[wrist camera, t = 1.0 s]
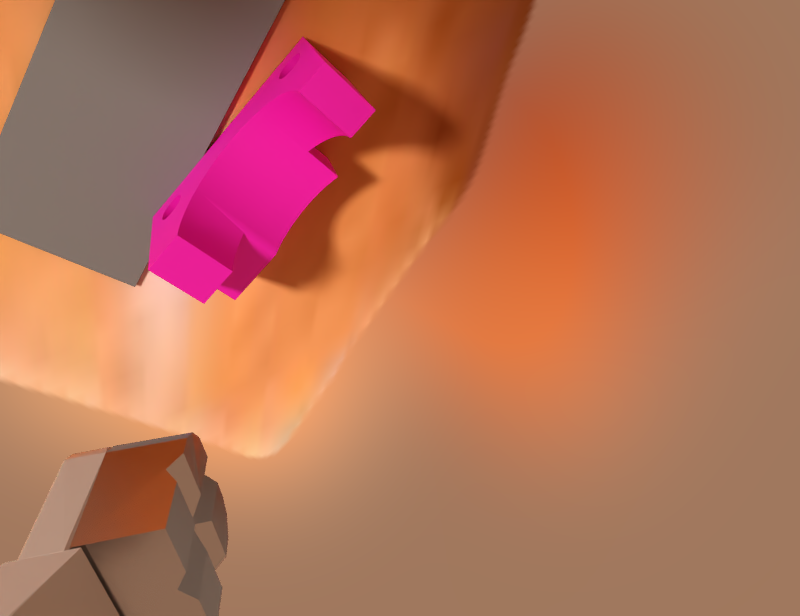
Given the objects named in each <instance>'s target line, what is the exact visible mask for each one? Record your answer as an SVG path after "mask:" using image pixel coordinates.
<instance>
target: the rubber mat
mask: <svg viewBox="0 0 800 616" xmlns="http://www.w3.org/2000/svg"><path fill="white" fill-rule="evenodd" d="M284 1H285V0H55V2H54V5H53V7H52V10H51V12H50V14H49V17H48V19H47V22H46V24H45V27H44V29H43V32H42V34H41V37H40V39H39V41H38V44H37V46H36V49H35V51H34V54H33V56H32V59H31V61H30V64H29V66H28V68H27V71H26V73H25V76H24V78H23V81H22V83H21V86H20V88H19V90H18V93H17V95H16V98H15V100H14V103H13V105H12V108H11V110H10V113H9V115H8V117H7V120H6V122H5V125H4V127H3V130H2V132H1V135H0V233H1V234H3V235H6V236H8V237H11V238H13V239H16V240H19V241H21V242H24V243H26V244H29V245H31V246H34V247H36V248H39V249H41V250H44V251H46V252H49V253H51V254H54V255H56V256H59V257H61V258H64V259H66V260H69V261H71V262H74V263H76V264H79V265H81V266H84V267H86V268H89V269H91V270H94V271H96V272H99V273H101V274H104V275H106V276H109V277H112V278H114V279H117V280H119V281H122V282H124V283H127V284H129V285H132V286H134V287H135V286H136V284H137V282H138V280H139V278H140V276H141V275H142V273H143V271H144V269H145V267H146V265H147V263H148V261H149V253H150V242H151V231H152V220H153V216H154V215H155V214H156V213H157V211H158V210H159V209H160V208H161V207H162V205H163V204H164V203H165V202H166V201H167V199H168V198H169V197H170V196H171V195H172V193H173V192H174V191H175V190H176V189H177V187H178V186H179V185H180V184H181V183H182V181H183V180H184V179H185V178H186V177H187V175H188V174H189V173H190V172H191V170H192V169H193V168H194V167H195V166H196V164H197V163H198V162H199V161H200V160H201V158H202V157H203V156H204V154H205V152H206V150H207V148H208V146H209V144H210V142H211V141H212V139H213V137H214V135H215V133H216V131H217V129H218V127H219V125H220V123H221V121H222V120H223V118H224V116H225V114H226V112H227V110H228V108H229V106H230V104H231V102H232V100H233V98H234V97H235V95H236V93H237V91H238V89H239V87H240V85H241V83H242V81H243V79H244V77H245V75H246V74H247V72H248V70H249V68H250V66H251V64H252V62H253V60H254V58H255V56H256V54H257V53H258V51H259V49H260V47H261V45H262V43H263V41H264V39H265V37H266V35H267V33H268V31H269V30H270V28H271V26H272V24H273V22H274V20H275V18H276V16H277V14H278V12H279V10H280V9H281V7H282V5H283V3H284Z"/></svg>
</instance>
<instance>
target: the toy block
mask: <svg viewBox="0 0 800 616" xmlns="http://www.w3.org/2000/svg"><path fill="white" fill-rule="evenodd" d="M374 112H375V109H374V108H373V107H372V105H371V104H370V103H369V102H368V101H367V100H366V99H365V98H364V97H363V96H362V94H361V93H360V92H359V91H358V90H357V89H356V88H355V87H354V86H353V85H352V84H351V82H350V81H349V80H348V79H347V78H346V77H345V76H344V75H343V74H342V73H341V72H339V71H338V70H337V69H336V68H335V67H334V66H333V65H332V64H331V63H330V62H329V61H328V60H327V59H326V58H325V57H324V56H323V55H322V54H321V53H320V52H319V51H317V50H316V49H315V48H314V47H313V46H312V45H311V44H310V43H309V42H308V41H307V40H306V39H305V38H304V37H302V38H301V40H300V41H299V42H298V43H297V44H296V46H295V47H294V48H293V49H292V50H291V52H290V53H289V54H288V55H287V56H286V58H285V59H284V60H283V61H282V62H281V64H280V65H279V66H278V67H277V68H276V70H275V71H274V72H273V73H272V74H271V76H270V77H269V78H268V79H267V80H266V82H265V83H264V84H263V85H262V86H261V88H260V89H259V90H258V91H257V92H256V94H255V95H254V96H253V97H252V98H251V100H250V101H249V102H248V103H247V104H246V106H245V107H244V108H243V109H242V110H241V112H240V113H239V114H238V115H237V116H236V118H235V119H234V120H233V121H232V122H231V124H230V125H229V126H228V127H227V128H226V130H225V131H224V132H223V133H222V134H221V136H220V137H219V138H218V139H217V140H216V142H215V143H214V144H213V145H212V146H211V148H210V149H209V150H208V151H207V152H206V154H205V155H204V156H203V157H202V158H201V160H200V161H199V162H198V163H197V164H196V166H195V167H194V168H193V169H192V170H191V172H190V173H189V174H188V175H187V177H186V178H185V179H184V180H183V181H182V183H181V184H180V185H179V186H178V187H177V189H176V190H175V191H174V192H173V193H172V195H171V196H170V197H169V198H168V199H167V201H166V202H165V203H164V204H163V205H162V207H161V208H160V209H159V210H158V211H157V213H156V214H155V215H154V216H153V220H152V231H151V242H150V253H149V264H148V270H149V271H151V272H152V273H154V274H156V275H157V276H159V277H161V278H162V279H164V280H166V281H167V282H169V283H171V284H172V285H174V286H176V287H177V288H179V289H181V290H182V291H184V292H185V293H187V294H189V295H190V296H192V297H194V298H195V299H197V300H199V301H200V302H202V303H205V302H206V301H207V300H208V299H209V298H210V296H211V295H212V294H213V293H214V292H215V291H216V290H217V289H218V290H220V291H221V292H223V293H224V294H226V295H228V296H229V297H231V298H232V299H234V300H236V299H237V297H238V296H239V295H240V294H241V293H242V292H243V291H244V290H245V289H246V287H247V286H248V285H249V284H250V283H251V282H252V281H253V280H254V279H255V277H256V276H257V275H258V274H259V273H260V272H261V271H262V270H263V269H264V267H265V266H266V265H267V264H268V263H269V262H270V261H271V260H272V258H273V257H274V256H275V255H276V253H277V251H278V249H279V247H280V245H281V243H282V241H283V239H284V238H285V236H286V234H287V233H288V231H289V230H290V228H291V226H292V225H293V224H294V222H295V221H296V219H297V218H298V217H299V215H300V214H301V213H302V211H303V210H304V209H305V208H306V207H307V205H308V204H309V203H310V202H311V201H312V200H313V199H314V198H315V197H316V196H317V195H318V194H319V193H320V192H321V191H322V190H323V189H324V188H325V187H326V186H327V185H328V184H330V183H331V182H332V181H333V180H335V179H336V178H337V177H338V175H337V174H336V172H335V170H334V168H333V167H332V165H331V163H330V161H329V159H328V158H327V157H326V156H324V155H323V154H322V153H321V152H320V151H318V150H317V149H316V148H315V146H317V145H318V144H320V143H322V142H323V141H325V140H328V139H330V138H333V137H336V136H348V137H350V138H352V136H353V135H354V134H355V133H356V132H357V131H358V130H359V129H360V127H361V126H362V125H363V124H364V123H365V122H366V121H367V120H368V118H369V117H370V116H371V115H372V114H373V113H374Z"/></svg>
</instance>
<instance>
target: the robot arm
mask: <svg viewBox="0 0 800 616" xmlns="http://www.w3.org/2000/svg"><path fill="white" fill-rule="evenodd" d="M206 462H207V455H206V452H205V450H204V447H203V445H202V443H201V441H200V438H199V437H198V436H197V435H195V434H194V433H187V434H181V435H175V436H169V437H164V438H158V439H152V440H146V441H140V442H135V443H130V444H123V445H117V446H113V447H112V448H111V447H109V448H108V447H107V448H102V449H97V450H91V451H86V452H81V453H75V454H72V455H71V456H70V457H68V458H67V459H65V460H64V462H63V463H62V465H61V468H60V470H59V472H58V474H57V476H56V478H55V480H54V483H53V485H52V487H51V489H50V491H49V493H48V496H47V498H46V500H45V502H44V504H43V506H42V508H41V511H40V513H39V515H38V517H37V519H36V521H35V524H34V526H33V528H32V530H31V532H30V534H29V536H28V538H27V541H26V543H25V545H24V547H23V549H22V551H21V554H20V556H19V558H18V560H16V561H10V562H6V563H3V564H2V565H1V566H0V616H219V609H220V602H221V594H222V586H221V583H220V581H219V578H218V576H217V574H216V571H215V570H216V569H217V567H218V566H219V565H220V564H221V563H222V561H223V560H224V559H225V558H226V554H227V545H228V525H227V513H226V508H225V504H224V500H223V496H222V493H221V491H220V488H219V485H218V483H217V482H216V481H214V480H212V479H211V478H209V477H207V476H205V475H204V474H205V468H206Z"/></svg>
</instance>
